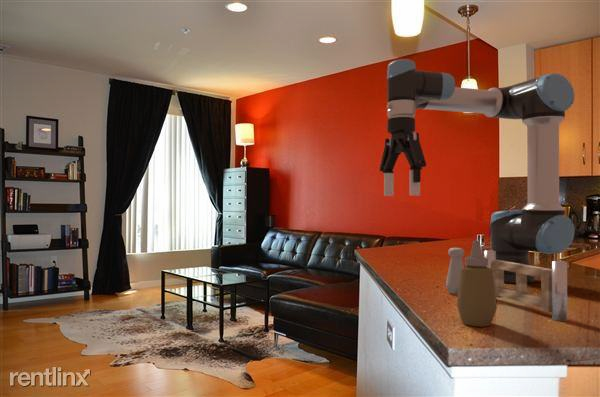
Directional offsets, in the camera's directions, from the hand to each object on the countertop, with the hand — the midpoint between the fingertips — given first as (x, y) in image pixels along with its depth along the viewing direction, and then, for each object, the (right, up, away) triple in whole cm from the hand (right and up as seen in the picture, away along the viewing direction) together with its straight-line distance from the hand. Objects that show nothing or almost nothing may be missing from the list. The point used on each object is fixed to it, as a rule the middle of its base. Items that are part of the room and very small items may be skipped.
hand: (401, 195), depth 124 cm
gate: (+27, -27, -12) cm, 40 cm away
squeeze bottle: (+11, -28, -26) cm, 40 cm away
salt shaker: (+17, -28, +6) cm, 34 cm away
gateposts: (+27, -28, -12) cm, 41 cm away
